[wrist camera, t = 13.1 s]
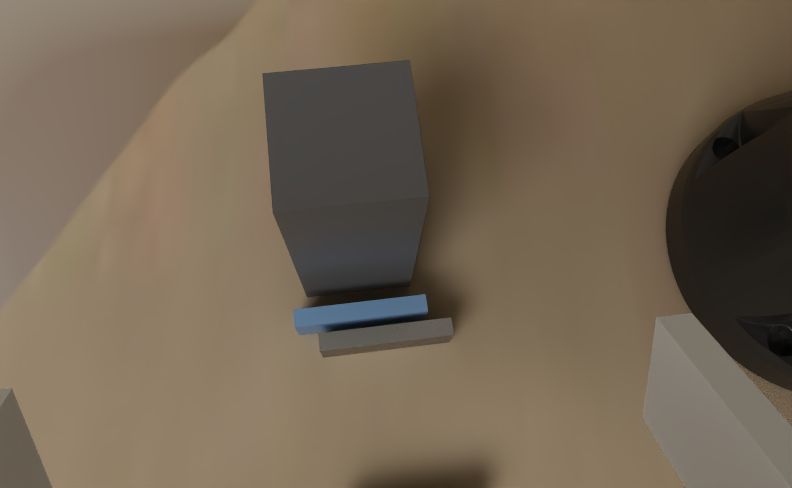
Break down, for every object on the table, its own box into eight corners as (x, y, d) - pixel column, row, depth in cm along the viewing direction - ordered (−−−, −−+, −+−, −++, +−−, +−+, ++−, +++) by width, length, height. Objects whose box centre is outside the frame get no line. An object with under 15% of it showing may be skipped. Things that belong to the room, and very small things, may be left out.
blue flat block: (401, 156, 36) (403, 139, 34) (425, 319, 33) (428, 311, 31) (284, 168, 35) (279, 151, 33) (299, 334, 33) (294, 327, 31)
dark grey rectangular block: (397, 190, 35) (409, 60, 24) (410, 285, 34) (429, 196, 22) (298, 200, 35) (262, 73, 23) (307, 297, 33) (272, 212, 22)
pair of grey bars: (446, 325, 33) (451, 317, 31) (475, 516, 30) (482, 520, 29) (321, 340, 33) (318, 333, 31) (340, 535, 30) (338, 540, 28)
